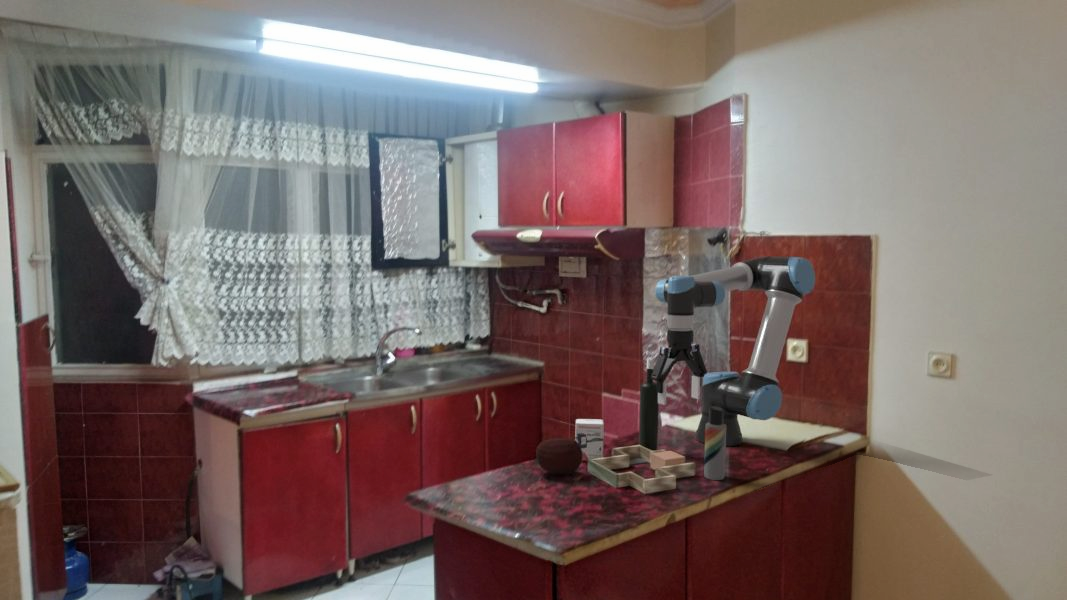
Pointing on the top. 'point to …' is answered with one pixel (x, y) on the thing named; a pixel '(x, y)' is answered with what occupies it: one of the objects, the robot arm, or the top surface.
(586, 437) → the ink box
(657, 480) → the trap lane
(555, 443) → the potato
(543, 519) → the top surface
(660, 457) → the block
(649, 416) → the wine bottle
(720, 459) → the lotion bottle
